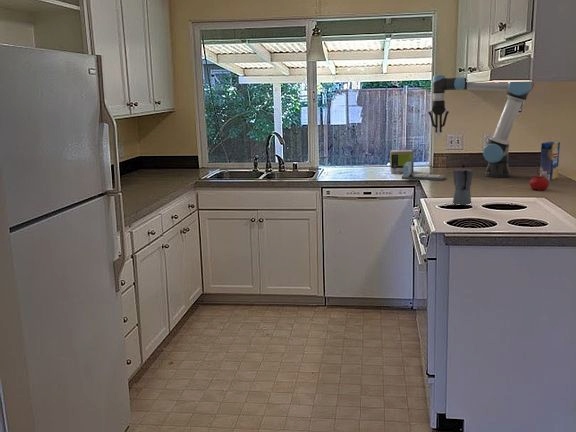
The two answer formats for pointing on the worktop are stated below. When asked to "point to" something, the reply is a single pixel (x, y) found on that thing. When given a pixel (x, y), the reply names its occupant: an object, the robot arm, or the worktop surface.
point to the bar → (407, 168)
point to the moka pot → (462, 185)
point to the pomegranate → (539, 183)
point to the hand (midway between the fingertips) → (438, 137)
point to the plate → (425, 177)
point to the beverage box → (549, 160)
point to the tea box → (400, 160)
